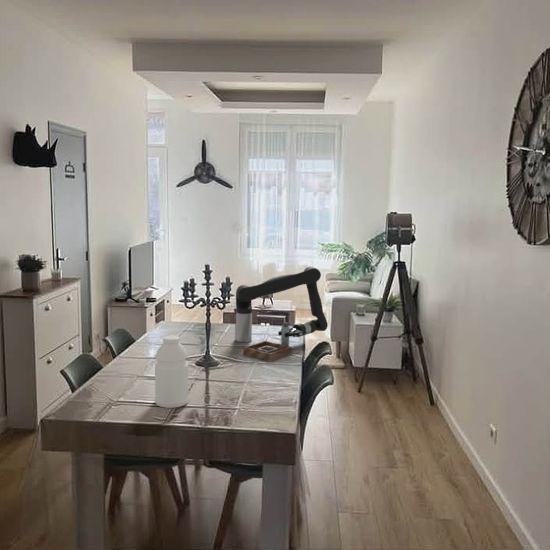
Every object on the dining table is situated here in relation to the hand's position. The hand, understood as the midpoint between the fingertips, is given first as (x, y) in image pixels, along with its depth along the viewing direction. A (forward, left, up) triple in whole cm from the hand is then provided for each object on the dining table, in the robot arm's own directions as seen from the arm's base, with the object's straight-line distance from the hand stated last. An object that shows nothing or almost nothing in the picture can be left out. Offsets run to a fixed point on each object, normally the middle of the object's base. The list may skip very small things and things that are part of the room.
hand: (282, 334), depth 307 cm
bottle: (+13, -93, -9) cm, 95 cm away
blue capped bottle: (0, +3, -8) cm, 8 cm away
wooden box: (0, -13, -9) cm, 15 cm away
